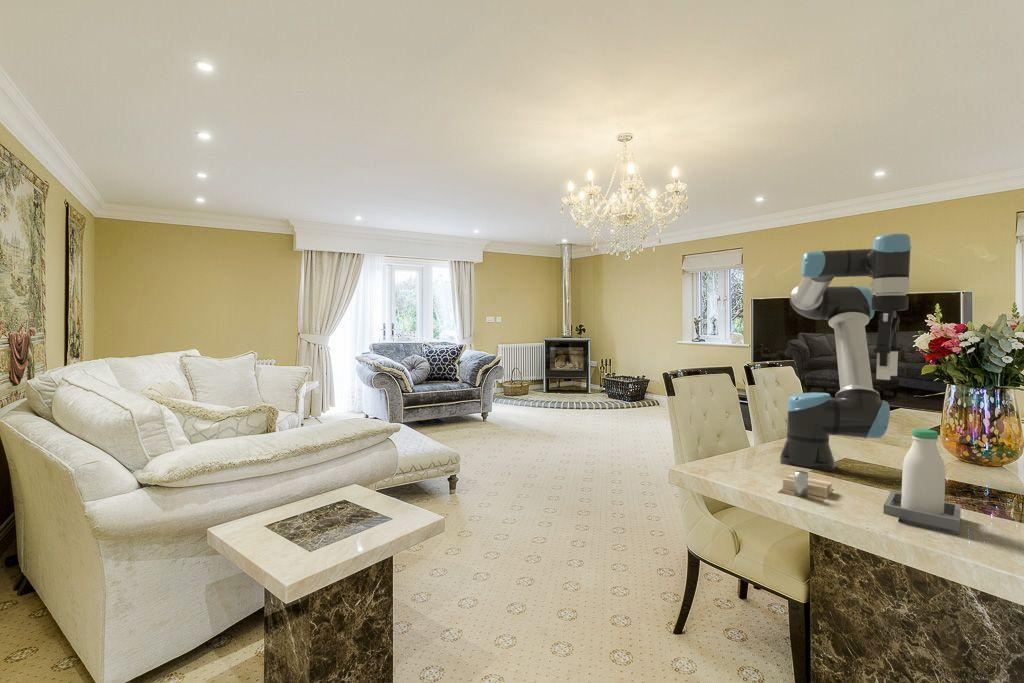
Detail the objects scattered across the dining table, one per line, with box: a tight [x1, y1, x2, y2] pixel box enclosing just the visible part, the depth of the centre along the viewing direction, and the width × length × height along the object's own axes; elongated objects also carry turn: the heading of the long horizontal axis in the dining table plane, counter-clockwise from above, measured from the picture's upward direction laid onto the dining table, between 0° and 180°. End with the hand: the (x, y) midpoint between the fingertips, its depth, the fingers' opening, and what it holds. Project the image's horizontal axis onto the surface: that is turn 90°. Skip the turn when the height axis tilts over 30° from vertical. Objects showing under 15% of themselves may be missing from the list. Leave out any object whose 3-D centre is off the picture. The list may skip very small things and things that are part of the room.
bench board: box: [777, 487, 835, 503], centre depth 129 cm, size 14×10×1 cm
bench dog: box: [794, 470, 809, 499], centre depth 125 cm, size 3×3×6 cm
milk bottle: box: [900, 428, 946, 516], centre depth 114 cm, size 8×8×20 cm
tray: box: [882, 491, 962, 536], centre depth 114 cm, size 13×13×3 cm
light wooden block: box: [782, 474, 833, 499], centre depth 129 cm, size 6×10×2 cm, turn 46°
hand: (887, 377), depth 126 cm, fingers open, 13 cm apart
